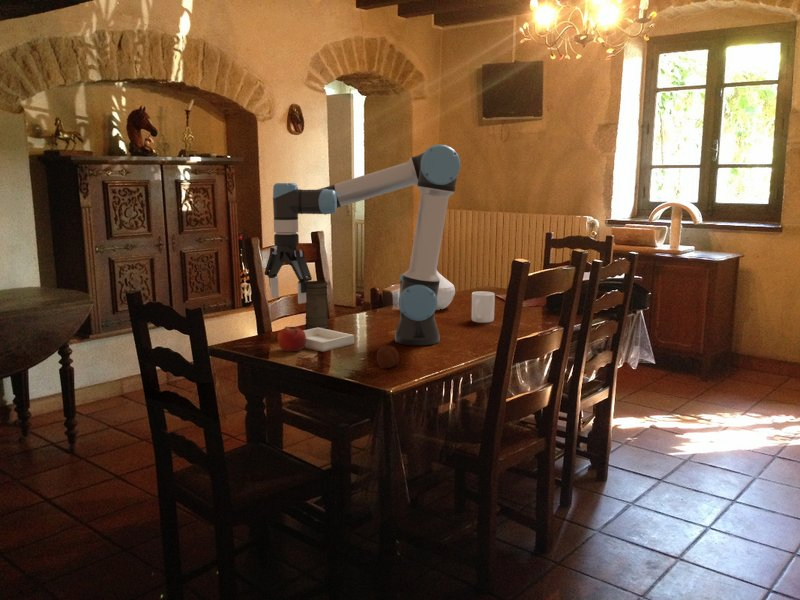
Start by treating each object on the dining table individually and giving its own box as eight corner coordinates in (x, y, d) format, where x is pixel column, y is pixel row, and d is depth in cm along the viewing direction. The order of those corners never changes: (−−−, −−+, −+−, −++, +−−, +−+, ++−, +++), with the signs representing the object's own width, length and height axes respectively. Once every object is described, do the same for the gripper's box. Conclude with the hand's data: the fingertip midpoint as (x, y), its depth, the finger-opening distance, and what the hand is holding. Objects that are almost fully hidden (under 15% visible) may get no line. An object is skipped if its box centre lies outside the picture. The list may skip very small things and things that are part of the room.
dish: (354, 343, 234) (354, 335, 233) (323, 351, 224) (322, 342, 223) (318, 335, 246) (317, 327, 245) (286, 342, 235) (286, 334, 235)
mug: (464, 323, 265) (464, 295, 263) (476, 317, 276) (477, 290, 274) (485, 325, 261) (486, 297, 259) (497, 319, 272) (497, 292, 270)
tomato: (280, 347, 230) (280, 323, 228) (308, 347, 230) (308, 323, 228) (274, 354, 221) (274, 329, 219) (304, 354, 220) (303, 329, 219)
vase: (413, 303, 306) (413, 259, 302) (456, 304, 303) (456, 260, 300) (408, 311, 288) (408, 265, 284) (453, 312, 285) (453, 266, 282)
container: (325, 335, 247) (324, 284, 244) (301, 334, 249) (299, 283, 245) (332, 329, 255) (331, 280, 252) (309, 328, 257) (308, 279, 254)
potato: (369, 369, 204) (369, 347, 203) (383, 361, 212) (383, 340, 211) (391, 371, 201) (391, 349, 200) (404, 363, 210) (404, 342, 208)
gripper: (322, 234, 213) (323, 303, 217) (270, 230, 230) (272, 294, 233) (303, 236, 208) (304, 307, 211) (252, 231, 224) (254, 297, 228)
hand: (288, 300), depth 222 cm, fingers open, 13 cm apart
